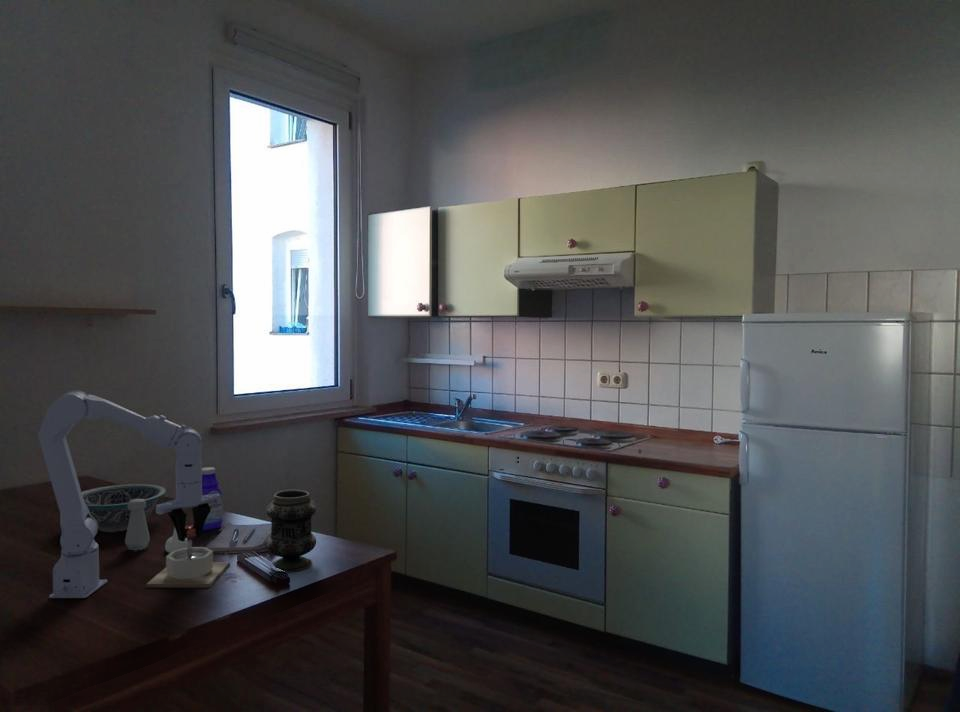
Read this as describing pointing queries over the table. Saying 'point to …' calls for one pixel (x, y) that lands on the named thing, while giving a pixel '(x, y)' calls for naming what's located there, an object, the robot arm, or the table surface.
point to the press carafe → (189, 564)
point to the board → (203, 581)
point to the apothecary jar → (291, 529)
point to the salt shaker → (137, 526)
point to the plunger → (190, 544)
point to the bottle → (207, 489)
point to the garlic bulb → (175, 543)
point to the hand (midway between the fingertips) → (189, 538)
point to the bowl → (119, 503)
